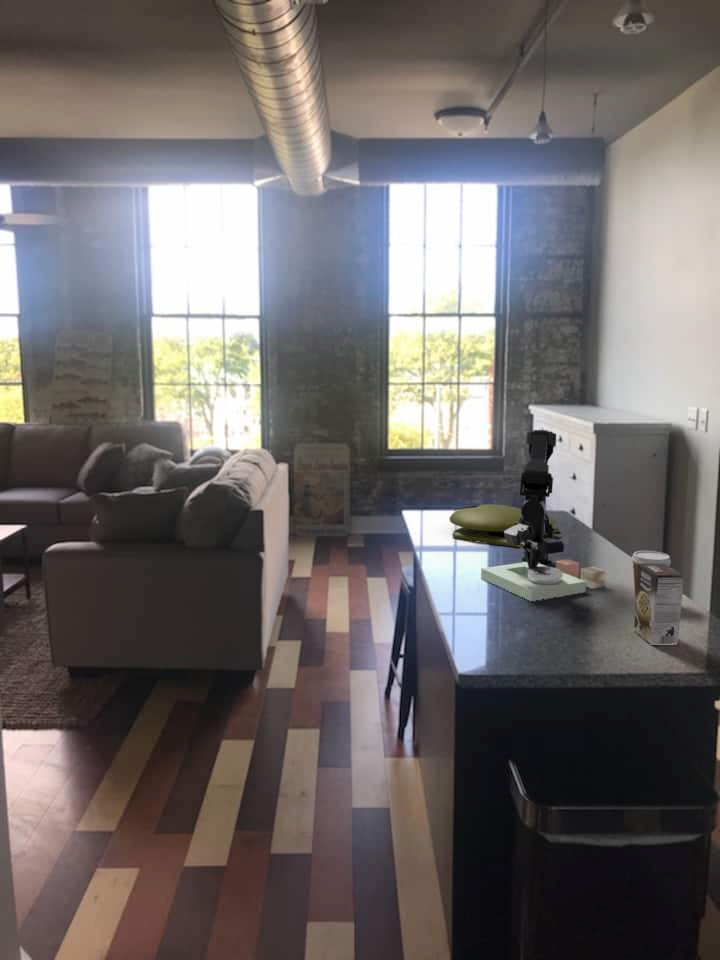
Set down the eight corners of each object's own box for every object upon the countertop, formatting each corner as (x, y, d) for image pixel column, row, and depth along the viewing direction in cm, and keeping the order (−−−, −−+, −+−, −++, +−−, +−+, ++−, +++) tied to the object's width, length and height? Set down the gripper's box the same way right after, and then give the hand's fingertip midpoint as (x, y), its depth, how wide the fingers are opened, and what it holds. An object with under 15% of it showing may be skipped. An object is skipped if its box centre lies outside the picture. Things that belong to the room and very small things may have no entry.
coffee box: (632, 631, 173) (636, 562, 170) (659, 630, 174) (664, 562, 171) (650, 646, 164) (655, 574, 161) (679, 645, 165) (684, 574, 162)
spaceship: (561, 532, 270) (562, 505, 268) (531, 551, 244) (533, 521, 242) (470, 520, 288) (471, 495, 286) (434, 537, 262) (434, 509, 261)
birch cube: (592, 582, 210) (593, 566, 210) (604, 586, 206) (605, 570, 206) (579, 584, 208) (580, 568, 208) (591, 589, 204) (592, 572, 204)
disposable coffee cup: (667, 596, 198) (670, 552, 196) (669, 608, 189) (672, 561, 187) (628, 592, 201) (631, 548, 199) (628, 604, 192) (631, 558, 190)
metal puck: (547, 573, 208) (547, 564, 207) (569, 582, 200) (569, 573, 199) (520, 577, 204) (520, 568, 203) (541, 587, 196) (542, 577, 195)
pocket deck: (532, 570, 221) (532, 560, 220) (585, 592, 201) (586, 581, 201) (481, 578, 213) (481, 568, 212) (531, 601, 193) (531, 590, 193)
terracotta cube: (567, 574, 218) (568, 559, 217) (578, 578, 214) (579, 563, 213) (555, 576, 216) (555, 561, 215) (566, 580, 212) (566, 565, 211)
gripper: (489, 510, 209) (487, 565, 211) (532, 524, 192) (529, 584, 195) (521, 507, 213) (519, 561, 216) (567, 520, 197) (563, 578, 200)
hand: (531, 570), depth 206 cm, fingers closed
